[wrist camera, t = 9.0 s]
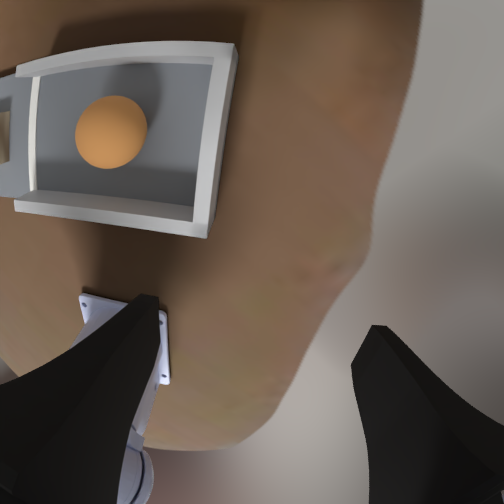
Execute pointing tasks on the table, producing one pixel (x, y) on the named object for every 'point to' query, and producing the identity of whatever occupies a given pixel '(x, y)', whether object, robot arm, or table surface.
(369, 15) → the table surface
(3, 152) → the frame
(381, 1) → the table surface
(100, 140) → the ball
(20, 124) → the tray
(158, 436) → the table surface
